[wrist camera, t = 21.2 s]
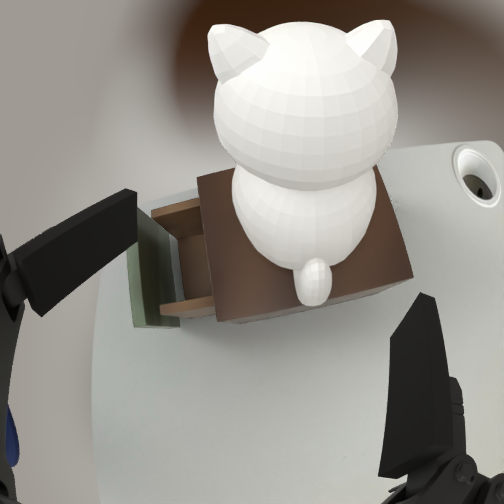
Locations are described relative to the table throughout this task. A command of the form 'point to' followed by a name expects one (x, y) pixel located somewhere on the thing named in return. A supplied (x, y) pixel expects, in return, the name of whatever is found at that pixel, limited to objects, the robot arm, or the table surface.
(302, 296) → the cat figurine
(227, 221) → the cabinet
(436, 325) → the robot arm
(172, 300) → the drawer
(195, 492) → the table surface
